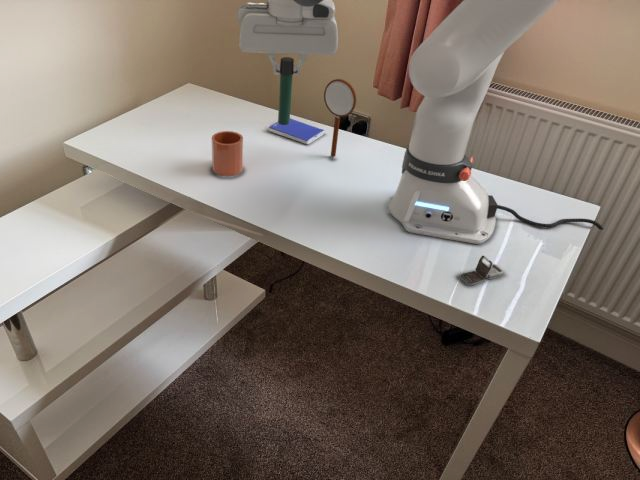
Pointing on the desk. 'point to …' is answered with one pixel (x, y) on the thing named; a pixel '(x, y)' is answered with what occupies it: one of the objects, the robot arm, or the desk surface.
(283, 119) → the marker
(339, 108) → the magnifying glass
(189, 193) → the desk surface
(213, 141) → the pen holder
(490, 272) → the strap clip
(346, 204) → the desk surface
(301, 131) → the hard drive
